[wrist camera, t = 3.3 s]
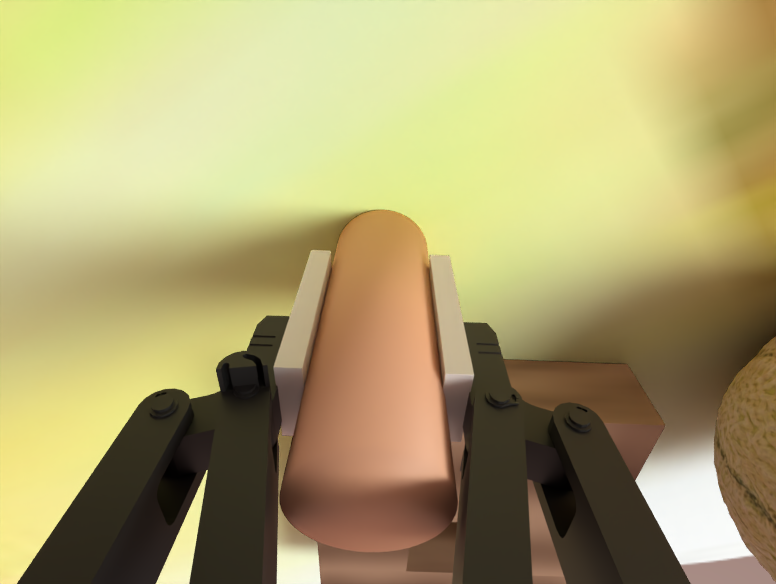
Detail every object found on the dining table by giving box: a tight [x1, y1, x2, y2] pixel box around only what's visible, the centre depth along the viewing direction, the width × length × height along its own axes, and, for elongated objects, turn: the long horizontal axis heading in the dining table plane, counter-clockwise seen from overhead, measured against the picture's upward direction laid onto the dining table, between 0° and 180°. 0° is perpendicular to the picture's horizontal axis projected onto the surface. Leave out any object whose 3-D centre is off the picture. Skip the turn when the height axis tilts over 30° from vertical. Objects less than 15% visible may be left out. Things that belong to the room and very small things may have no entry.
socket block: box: [318, 360, 665, 584], centre depth 27 cm, size 18×16×4 cm
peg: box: [280, 210, 458, 552], centre depth 15 cm, size 4×4×12 cm
